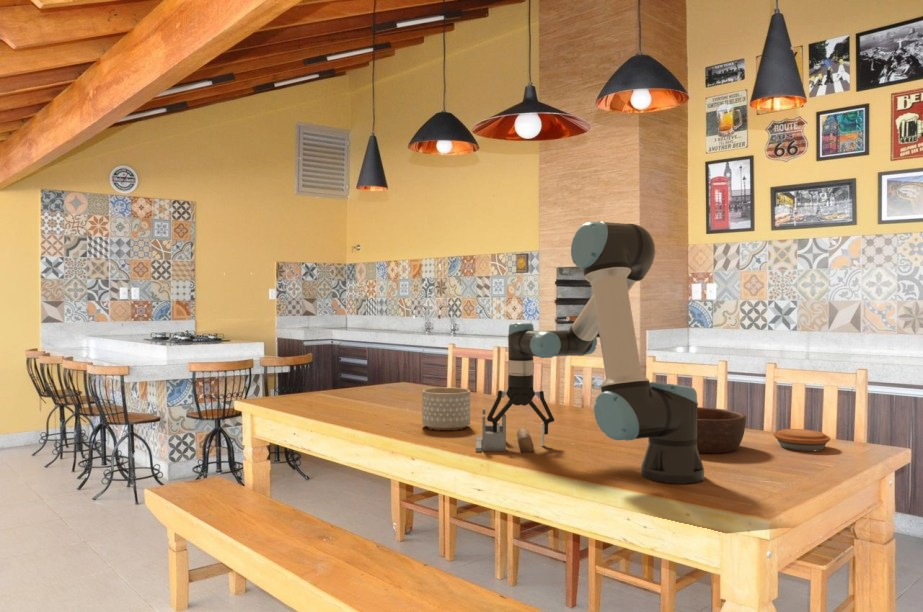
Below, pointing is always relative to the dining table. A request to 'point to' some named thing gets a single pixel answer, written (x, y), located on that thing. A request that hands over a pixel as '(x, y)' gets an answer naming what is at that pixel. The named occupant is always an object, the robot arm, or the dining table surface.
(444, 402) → the planter
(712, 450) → the wooden bowl
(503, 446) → the bracket
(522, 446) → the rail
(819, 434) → the pie
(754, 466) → the dining table surface
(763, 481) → the dining table surface
